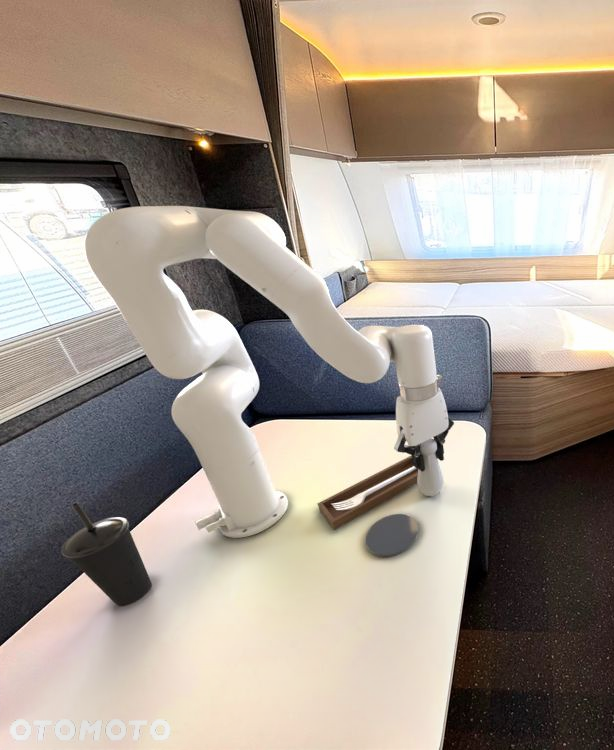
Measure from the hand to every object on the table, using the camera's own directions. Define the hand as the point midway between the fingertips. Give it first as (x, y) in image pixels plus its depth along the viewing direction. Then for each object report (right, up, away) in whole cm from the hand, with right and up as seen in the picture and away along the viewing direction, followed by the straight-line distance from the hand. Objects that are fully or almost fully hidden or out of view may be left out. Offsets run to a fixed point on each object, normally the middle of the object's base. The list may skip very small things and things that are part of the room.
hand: (429, 462), depth 83 cm
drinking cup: (-48, -19, -17) cm, 54 cm away
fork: (-12, -7, +3) cm, 14 cm away
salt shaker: (0, -7, +3) cm, 8 cm away
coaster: (-6, -12, -8) cm, 16 cm away
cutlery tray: (-12, -7, +3) cm, 15 cm away
